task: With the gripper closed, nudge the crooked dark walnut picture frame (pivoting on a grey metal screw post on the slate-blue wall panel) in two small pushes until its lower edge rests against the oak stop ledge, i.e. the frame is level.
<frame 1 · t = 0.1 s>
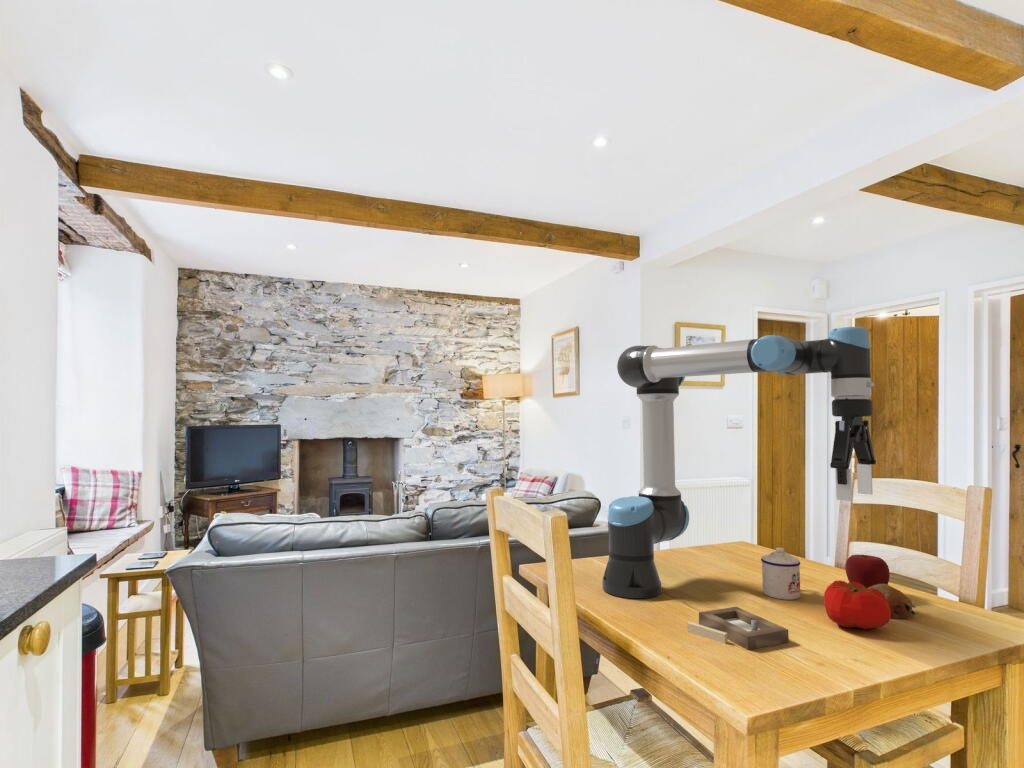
hand: (855, 497, 120), 28 cm above the table, fingers open, 13 cm apart
tomato: (857, 627, 121), on the table
apple: (868, 595, 142), on the table
bread roll: (888, 613, 129), on the table
wall panel: (730, 639, 114), on the table
walnut frame: (741, 626, 113), point 3 cm above the table, hinge at -22.0°
teacup with lid: (782, 594, 143), on the table
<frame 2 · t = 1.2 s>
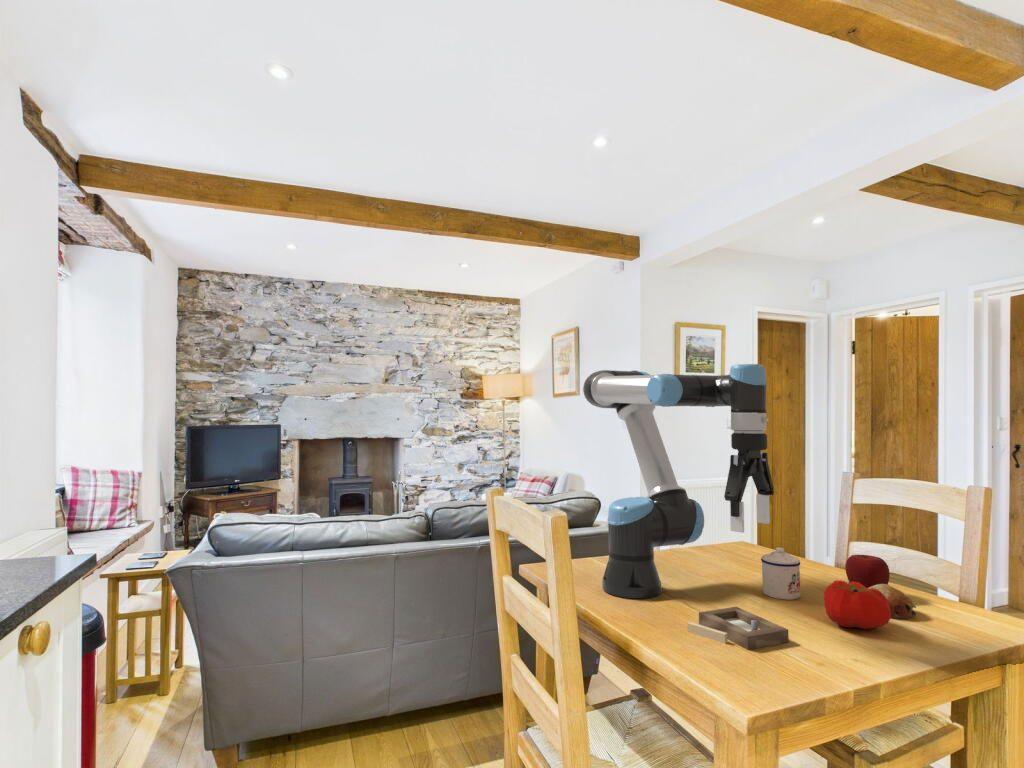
hand: (750, 527, 126), 20 cm above the table, fingers open, 12 cm apart
nothing on the table moved.
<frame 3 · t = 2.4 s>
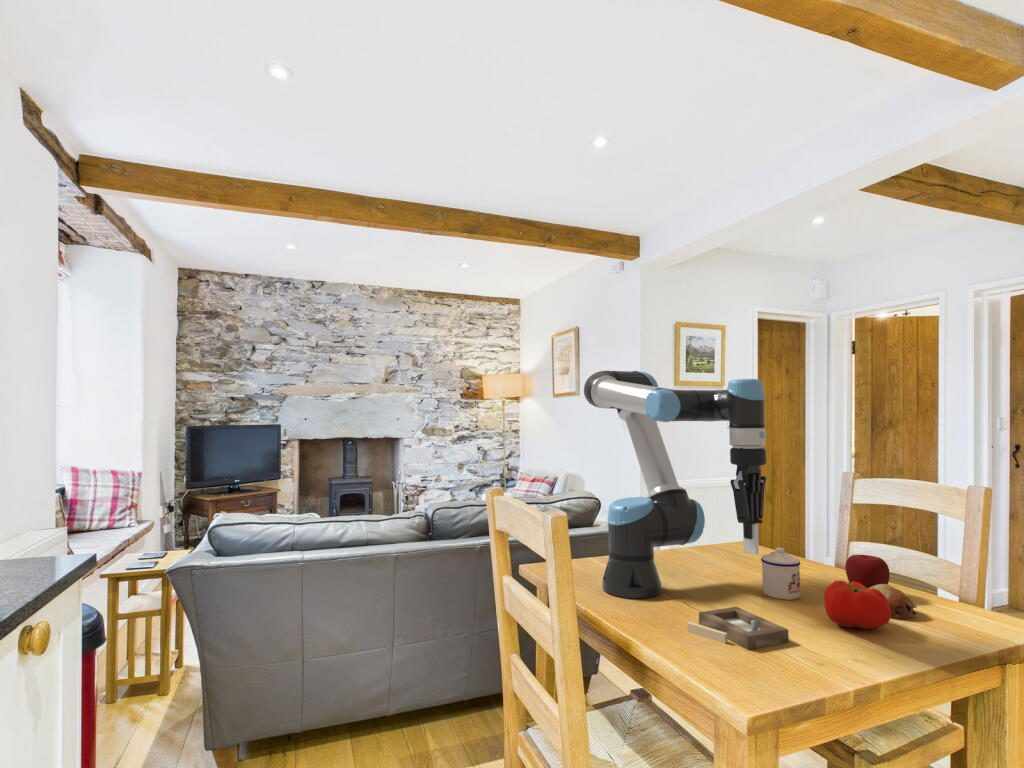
hand: (751, 552, 125), 15 cm above the table, fingers closed
nothing on the table moved.
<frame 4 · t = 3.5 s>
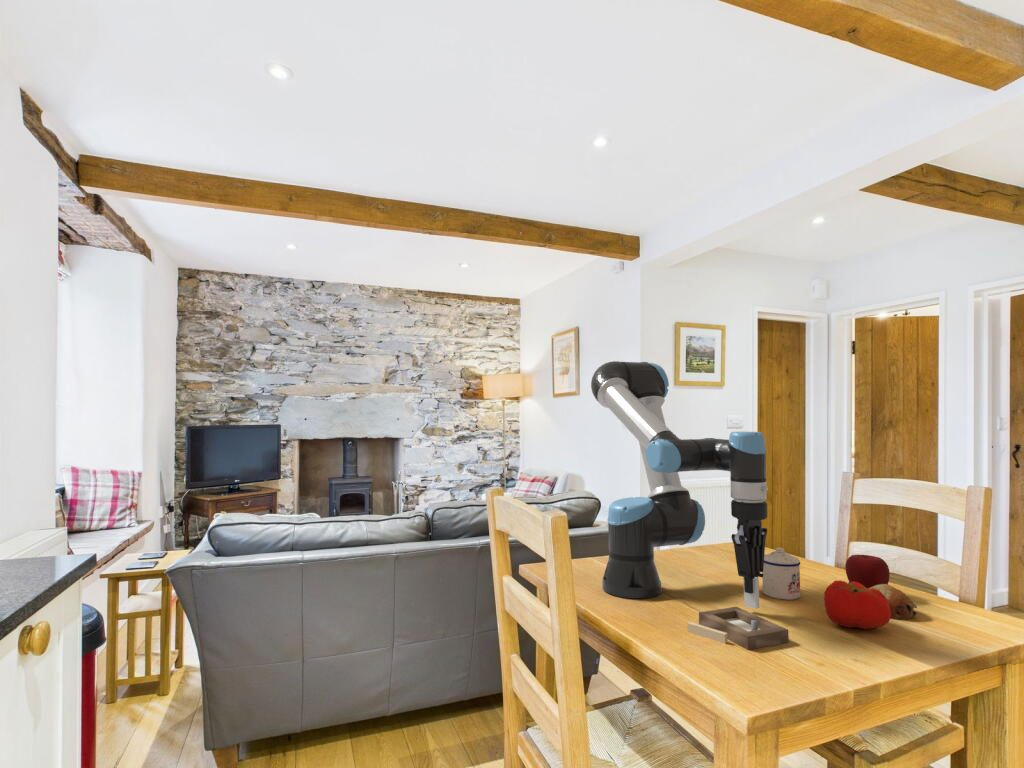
hand: (751, 606, 125), 3 cm above the table, fingers closed
nothing on the table moved.
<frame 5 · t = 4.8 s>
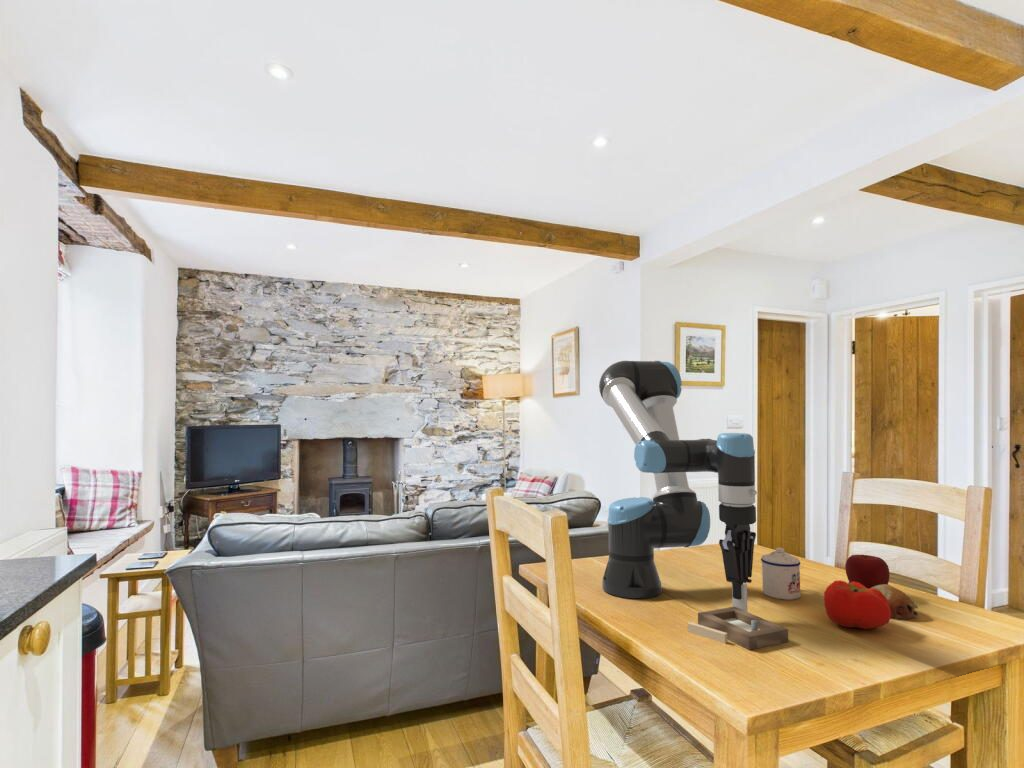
hand: (740, 612, 121), 3 cm above the table, fingers closed
walnut frame: (741, 626, 113), point 3 cm above the table, hinge at -19.7°, touching gripper
everything else where it was.
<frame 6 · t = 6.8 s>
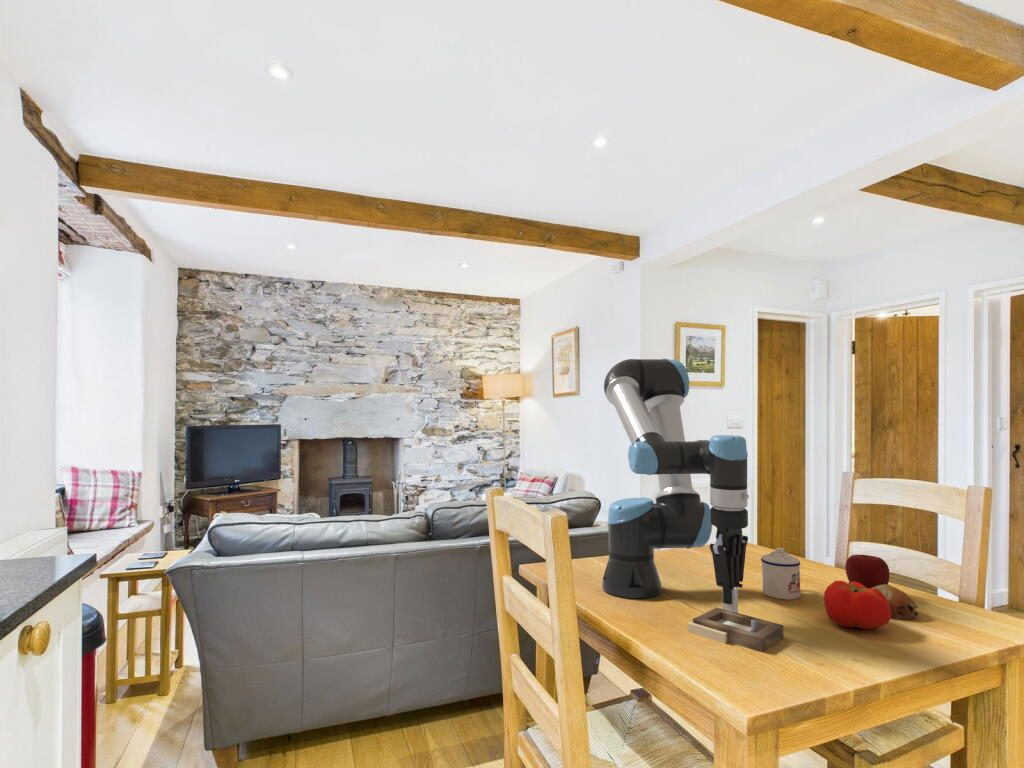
hand: (730, 617, 120), 2 cm above the table, fingers closed
walnut frame: (737, 627, 113), point 3 cm above the table, hinge at 0.3°, touching gripper
everything else where it was.
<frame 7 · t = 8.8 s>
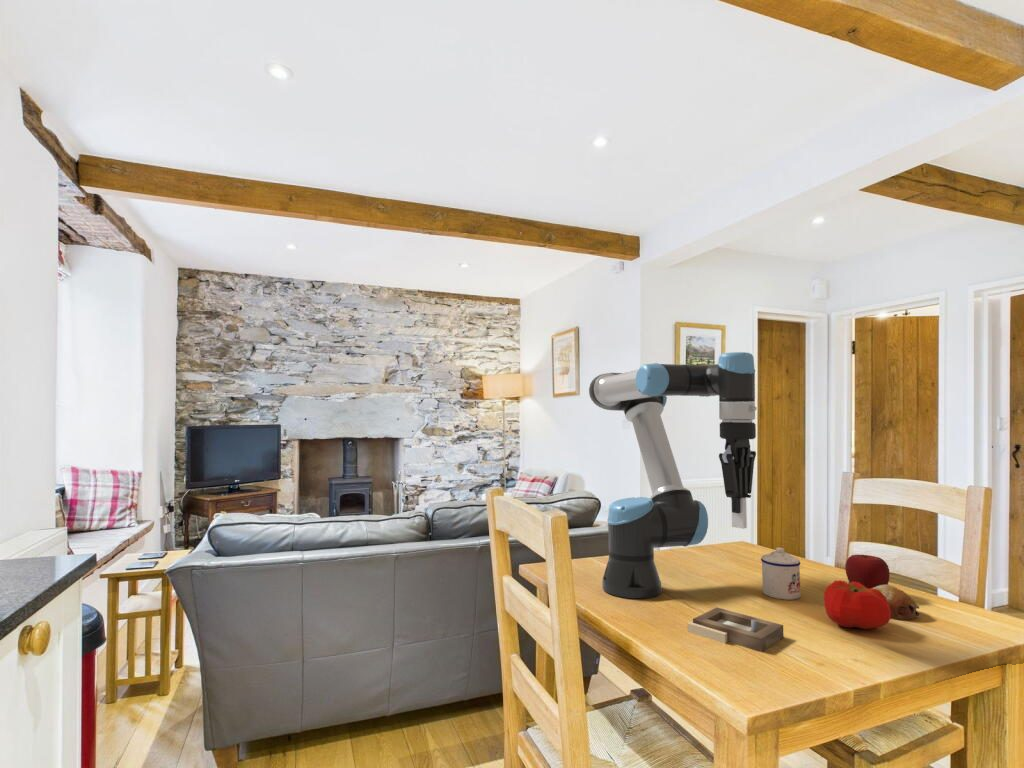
hand: (739, 527, 124), 21 cm above the table, fingers closed
walnut frame: (737, 627, 113), point 3 cm above the table, hinge at 0.3°
everything else where it was.
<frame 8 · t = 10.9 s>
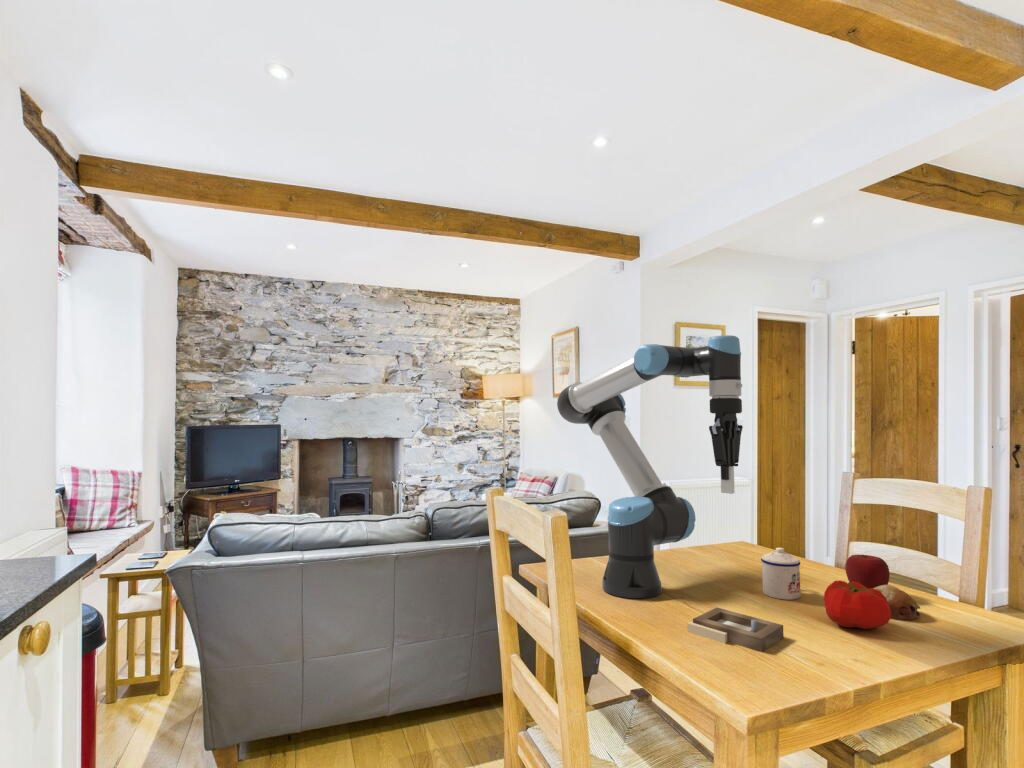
hand: (727, 492, 138), 26 cm above the table, fingers closed
nothing on the table moved.
at the end: walnut frame at +0° (first picture: -22°) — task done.
